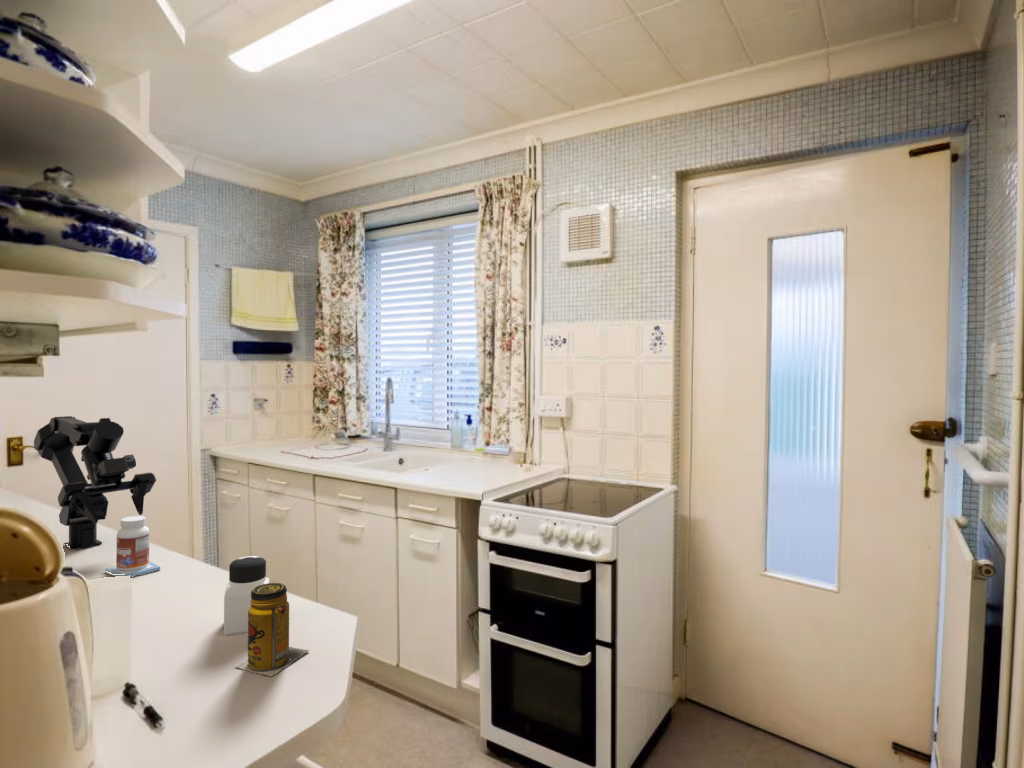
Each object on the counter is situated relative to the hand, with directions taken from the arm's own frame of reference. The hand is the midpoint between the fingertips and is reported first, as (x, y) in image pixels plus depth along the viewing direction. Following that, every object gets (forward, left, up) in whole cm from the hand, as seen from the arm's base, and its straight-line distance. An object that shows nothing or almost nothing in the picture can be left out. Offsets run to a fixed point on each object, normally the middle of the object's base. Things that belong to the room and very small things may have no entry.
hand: (119, 518), depth 132 cm
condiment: (+68, -2, -11) cm, 69 cm away
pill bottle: (+8, 0, -10) cm, 13 cm away
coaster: (+8, 0, -11) cm, 13 cm away
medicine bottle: (+53, +2, -11) cm, 54 cm away
